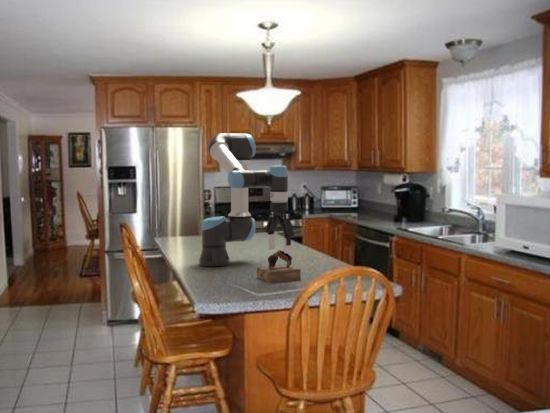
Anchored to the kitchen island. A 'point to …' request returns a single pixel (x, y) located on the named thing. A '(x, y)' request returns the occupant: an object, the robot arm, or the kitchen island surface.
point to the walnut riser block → (278, 273)
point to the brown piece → (281, 255)
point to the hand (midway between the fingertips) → (279, 251)
